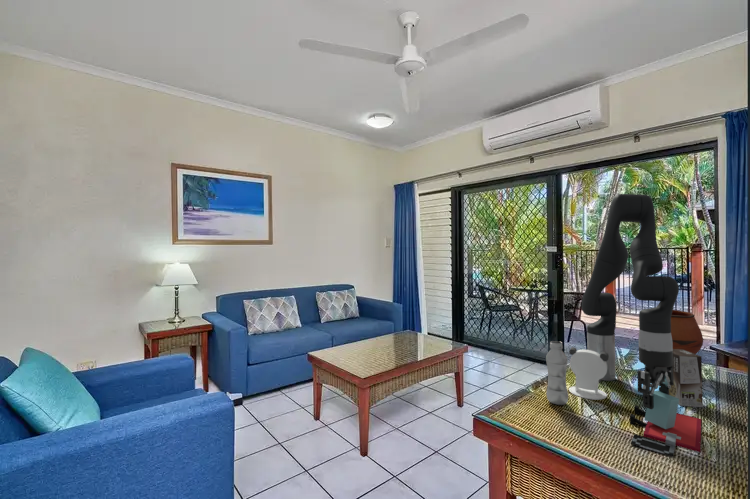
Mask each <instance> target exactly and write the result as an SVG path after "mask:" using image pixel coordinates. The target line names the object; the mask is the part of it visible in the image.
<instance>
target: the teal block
mask: <svg viewBox="0 0 750 499" xmlns="http://www.w3.org/2000/svg"><path fill="white" fill-rule="evenodd" d="M653 396H654V408H653V409H649V408H646V409H645V412H646V414H645V416H644V420H645V421H647V422H648V421H649V422H651V423H653V424H655V425H658V426H660V427H662V428H664V429H668V428H672V427H674V425H675V419H676V414H677V413H678V408H679V404H678V403H679V399H678V398H676V397H673V396H671V395H668V394H665V393H663V392H660V391H659V390H655V391H654V394H653Z"/></svg>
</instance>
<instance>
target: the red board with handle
mask: <svg viewBox="0 0 750 499" xmlns="http://www.w3.org/2000/svg"><path fill="white" fill-rule="evenodd" d="M633 412H634V413H630V415H629V424H630V425H632V426H633V425H635V424H637V425H639V426H642V427H644V428H645V429H644V430H643V431H644V432H643V436H642V435H638V434H636V433H634V434H633V436H632V439H631V441H630V444H631V445H634V446H638V447H641V448H644V449H647V450H650V451H654V452H656V453H659V454H664V455H667V456H670V457H673V458H674V454H675V449H676V446H677V447H680V448H682V449H683V448H684V449H687V450H691V451H694V452H698V453H701V446H702V445H701V443H702V441H701V439H702V418H700V417H695V416H691V415H687V414H684V413H678V412H677V414H676V419H675V425H674V427H672V428H668V429H664V428H662V427H660V426H658V425H655V424H653V423H651V422H649V421H647V423H646V422H644V421H642V420H640V419H638V418H636V415H639V414H641V415H643V417H645V414H646V410H642V409H641V408H640V406H639V405H636V404H635V405H634V408H633Z"/></svg>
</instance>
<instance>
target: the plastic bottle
mask: <svg viewBox="0 0 750 499" xmlns="http://www.w3.org/2000/svg"><path fill="white" fill-rule="evenodd" d="M549 344H550V345H549V348H550V350H549V351H548V352H547V353H546V357H545V360H546V368H547V387H546V399H547V401H548V402H549V403H550V404H554V405H558V406H564V405H565V406H566V405H567V403H568V401H569V392H568V389H567V388H568V387H567V367H568V358H567V357H568V356H567V355H566V354H565V352H564V351H563V349H564V346H563V342H562V341H556V340H552V341H550V342H549Z"/></svg>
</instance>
